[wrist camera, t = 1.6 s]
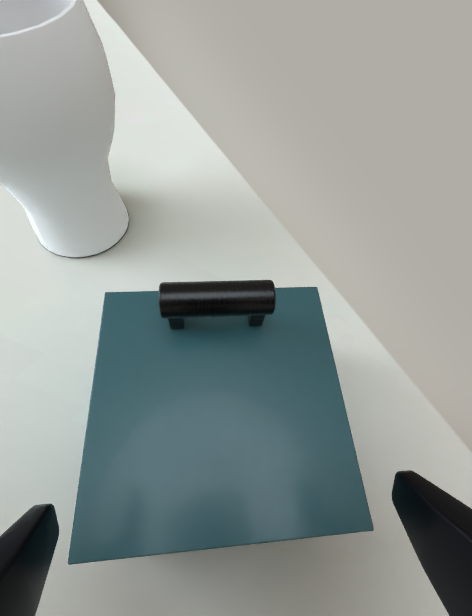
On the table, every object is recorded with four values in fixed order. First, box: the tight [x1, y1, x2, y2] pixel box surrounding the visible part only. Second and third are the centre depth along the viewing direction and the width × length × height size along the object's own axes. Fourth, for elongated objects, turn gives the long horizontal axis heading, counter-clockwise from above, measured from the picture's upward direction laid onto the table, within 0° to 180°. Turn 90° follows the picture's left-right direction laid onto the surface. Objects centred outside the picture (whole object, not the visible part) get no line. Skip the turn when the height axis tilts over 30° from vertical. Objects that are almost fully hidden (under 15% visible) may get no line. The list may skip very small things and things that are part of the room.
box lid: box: [68, 280, 374, 565], centre depth 13 cm, size 11×12×4 cm
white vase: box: [0, 0, 129, 257], centre depth 21 cm, size 11×11×15 cm
